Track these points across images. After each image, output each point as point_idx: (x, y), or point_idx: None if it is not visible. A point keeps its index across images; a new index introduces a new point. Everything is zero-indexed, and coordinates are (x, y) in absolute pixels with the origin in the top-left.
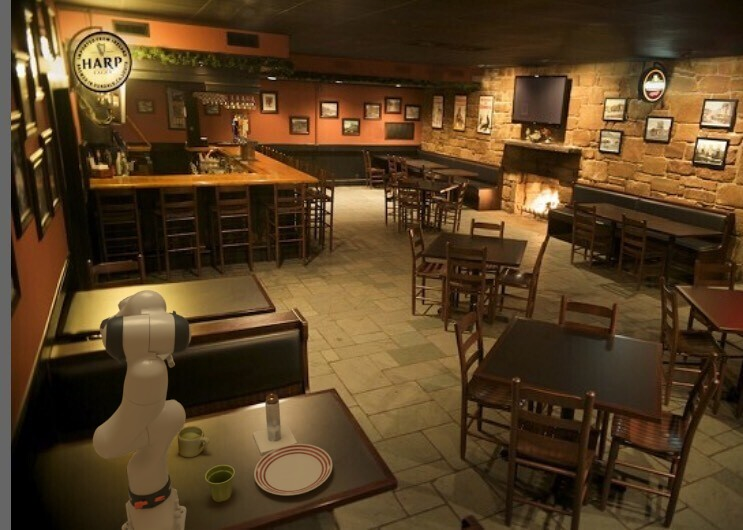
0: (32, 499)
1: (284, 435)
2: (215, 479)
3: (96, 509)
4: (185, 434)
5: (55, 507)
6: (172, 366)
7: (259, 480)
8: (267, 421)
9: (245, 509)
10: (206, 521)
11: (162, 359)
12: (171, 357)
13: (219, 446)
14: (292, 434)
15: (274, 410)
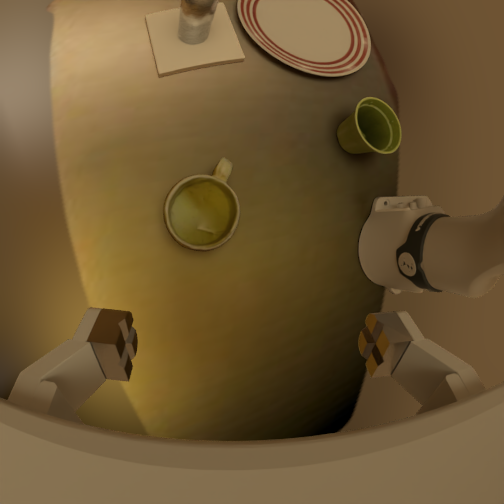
0: None
1: None
2: (352, 140)
3: (348, 354)
4: (179, 234)
5: (327, 415)
6: (130, 325)
7: (333, 70)
8: (208, 12)
9: None
10: (395, 163)
11: (473, 414)
12: (51, 373)
13: (189, 148)
14: None
15: None
